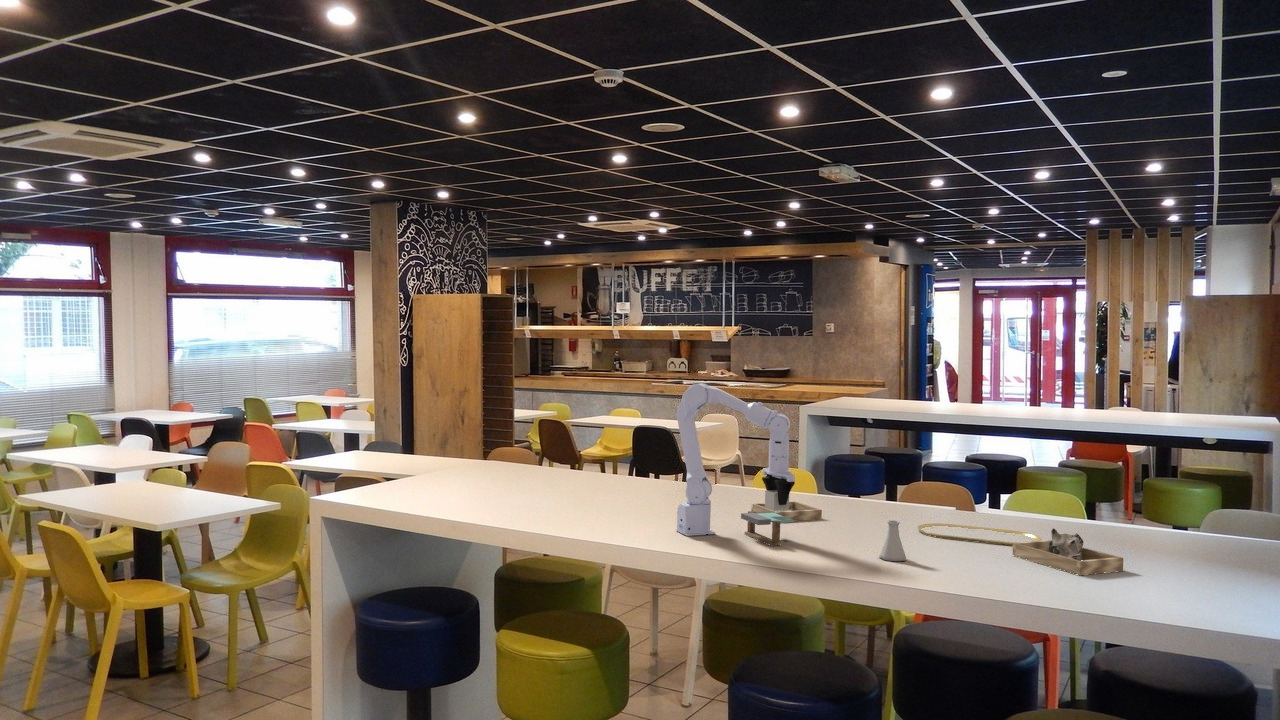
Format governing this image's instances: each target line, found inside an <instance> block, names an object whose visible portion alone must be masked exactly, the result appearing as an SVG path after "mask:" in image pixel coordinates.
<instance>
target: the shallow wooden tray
mask: <svg viewBox="0 0 1280 720" xmlns="http://www.w3.org/2000/svg"><path fill="white" fill-rule="evenodd" d="M1050 541H1053V540H1052V539H1049V540H1048V539H1046V540H1042V541H1034V540H1031V541H1022V542H1017V543H1013V546H1012V555H1014V556H1013V557H1015V556H1017V557H1016V558H1018V557H1020V558H1019V559H1021V558H1023V559H1022V560H1025V559H1027V560H1026V561H1028V560H1029V562H1031V561H1033V562H1032V563H1035V562H1036V563H1035V564H1038V563H1039V564H1038V565H1041V564H1043V565H1042V566H1045V565H1047V566H1046V567H1048V566H1051V567H1054V568H1053V569H1055V568H1057V569H1056V570H1058V569H1061V570H1060V571H1062V570H1065V571H1068V572H1071V573H1070V574H1072V573H1074V574H1073V575H1075V574H1078V575H1084V576H1087V575H1086V574H1094V575H1096V574H1095V573H1103V574H1105V573H1104V572H1113V573H1115V572H1114V571H1123V572H1124V557H1122V556H1118V555H1113V554H1109V553H1106V552H1102V551H1098V550H1096V549H1092V548H1087V547H1082V555H1081V560H1083V561H1079V560H1075V559H1072V558H1068V557H1065V556H1061V555H1057V554H1054V553H1050V552H1049V543H1050ZM1078 554H1079V553H1078ZM1012 555H1011V556H1012ZM1051 567H1050V568H1051ZM1065 571H1064V572H1065ZM1068 572H1067V573H1068ZM1078 575H1077V576H1078Z"/></svg>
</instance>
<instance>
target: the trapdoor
mask: <svg viewBox="0 0 1280 720" xmlns="http://www.w3.org/2000/svg"><path fill="white" fill-rule="evenodd" d="M740 517H741V518H740V519H742V520H744V521H746V522H748V521H749V522H751V523H754V524H755V526H756V525H757V526H765V525H766V526H767V525H772V521H773V520H778V521H780V524H782V523H794V522H795V521H794V520H792V519H789V518H787V517H784V516H781V515H778V514H775V513H758V514H756V513H748V512H744V513H743V512H742V513H740Z"/></svg>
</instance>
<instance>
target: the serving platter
mask: <svg viewBox="0 0 1280 720" xmlns="http://www.w3.org/2000/svg"><path fill="white" fill-rule="evenodd" d="M932 526H948V527H961V528H968V529H984V530H992V531H997V532H1004V533H1015V534H1021V535H1025V536H1028V537H1031V538H1034V539H1035V540H1037V541H1043V539H1042V537H1040V536H1039V535H1036V534H1034V533H1031V532H1030V533H1028V532H1024V531H1019V530H1012V529H1003V528H1002V529H1001V528H993V527H991V528H990V527H982V526H972V525H963V524H954V523H953V524H952V523H939V522H938V523H935V522H934V523H933V522H932V523H922V524H919V525H917V530H918V531H919V532H920V533H921V534H923V533H924V534H923V535H925V534H927V535H926V536H928V535H931V536H930V537H932V536H936V537H935V538H938V537H942V538H941V539H945V538H950V539H949V540H954V539H959V540H958V541H963V540H968V541H967V542H972V541H979V542H978V543H981V542H988V543H987V544H990V543H996V544H995V545H1000V544H1005V545H1004V546H1009V545H1013V543H1018V542H1017V541H1015V542H1014V541H1001V540H993V539H987V538H986V539H983V538H975V537H965V536H958V535H957V536H956V535H947V534H939V533H933V532H930V531H925V530H921V529H922V528H925V527H932Z"/></svg>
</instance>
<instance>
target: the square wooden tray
mask: <svg viewBox="0 0 1280 720" xmlns="http://www.w3.org/2000/svg"><path fill="white" fill-rule="evenodd" d="M789 504H790V505H791V508H792V509H793V511H781V512H777V511H773V510H770V509H767V508H765V502H760V503H759V502H758V503H757V502H756V503H751V510H750V511H754V512H755V513H756V514H758V513H775V514H778V515H781V516H784V517H787V518H789V519H792V520H794V522H796V521H795V520H798V521H811V519H814V520H822V515H823V513H822V512H823V510H822V509H821V508H817V507H815V506H810V505H808V504H804V503H801V502H799V501H789Z"/></svg>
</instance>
